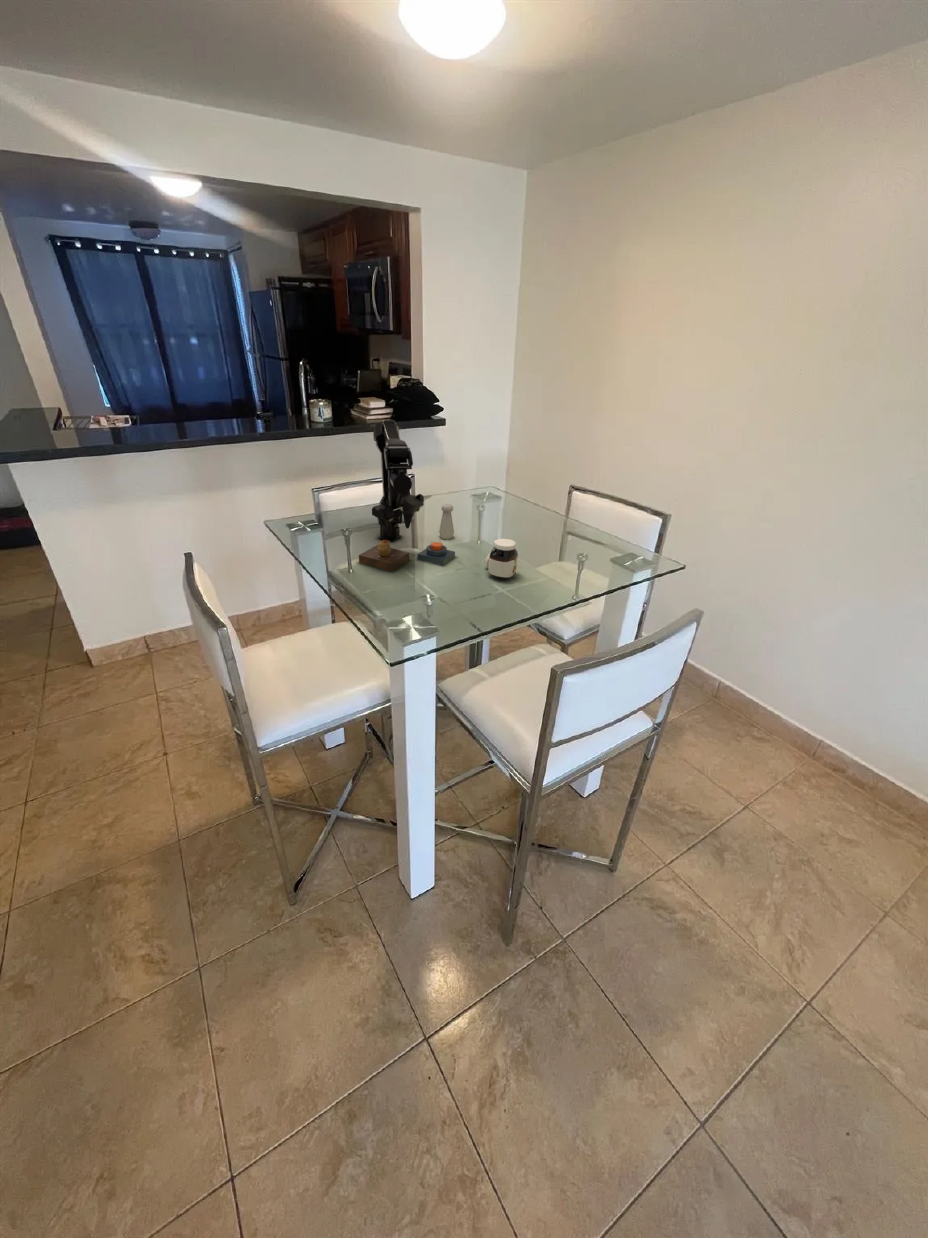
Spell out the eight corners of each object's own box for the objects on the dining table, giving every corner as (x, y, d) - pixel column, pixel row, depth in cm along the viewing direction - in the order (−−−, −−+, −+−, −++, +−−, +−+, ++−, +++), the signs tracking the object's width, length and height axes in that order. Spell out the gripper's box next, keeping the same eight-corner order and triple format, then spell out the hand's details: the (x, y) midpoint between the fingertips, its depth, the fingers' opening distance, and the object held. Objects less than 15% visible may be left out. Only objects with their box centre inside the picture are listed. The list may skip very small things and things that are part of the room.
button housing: (417, 559, 176) (417, 549, 174) (430, 551, 183) (430, 541, 181) (442, 566, 172) (443, 555, 171) (454, 557, 180) (455, 546, 178)
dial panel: (359, 563, 171) (358, 554, 170) (377, 552, 180) (377, 544, 178) (391, 571, 166) (391, 562, 165) (409, 560, 175) (409, 551, 174)
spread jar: (505, 584, 162) (508, 549, 157) (474, 575, 167) (476, 541, 162) (521, 571, 171) (525, 539, 166) (492, 563, 176) (495, 531, 171)
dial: (386, 556, 169) (385, 544, 167) (376, 554, 171) (375, 542, 169) (392, 552, 173) (392, 540, 170) (382, 550, 174) (382, 538, 172)
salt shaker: (451, 541, 193) (453, 507, 187) (437, 539, 194) (438, 506, 188) (455, 536, 198) (456, 503, 192) (440, 534, 199) (441, 501, 193)
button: (428, 549, 175) (428, 544, 174) (434, 545, 178) (434, 541, 178) (438, 551, 174) (439, 547, 173) (444, 548, 177) (444, 543, 176)
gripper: (396, 496, 151) (397, 545, 159) (435, 484, 164) (434, 530, 172) (369, 488, 156) (371, 536, 164) (409, 477, 170) (409, 522, 177)
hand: (398, 531), depth 169 cm, fingers open, 9 cm apart
